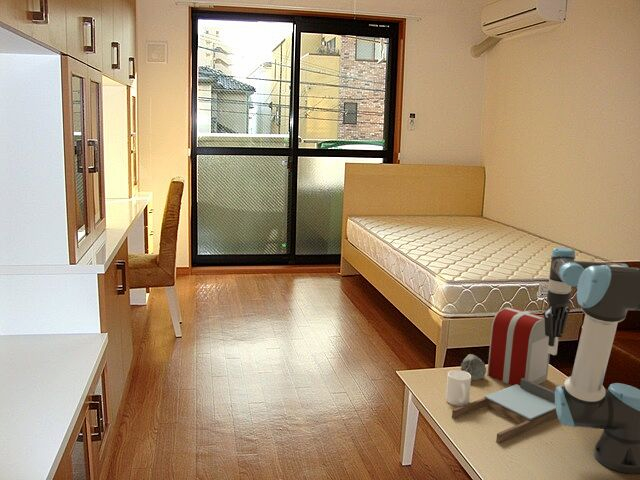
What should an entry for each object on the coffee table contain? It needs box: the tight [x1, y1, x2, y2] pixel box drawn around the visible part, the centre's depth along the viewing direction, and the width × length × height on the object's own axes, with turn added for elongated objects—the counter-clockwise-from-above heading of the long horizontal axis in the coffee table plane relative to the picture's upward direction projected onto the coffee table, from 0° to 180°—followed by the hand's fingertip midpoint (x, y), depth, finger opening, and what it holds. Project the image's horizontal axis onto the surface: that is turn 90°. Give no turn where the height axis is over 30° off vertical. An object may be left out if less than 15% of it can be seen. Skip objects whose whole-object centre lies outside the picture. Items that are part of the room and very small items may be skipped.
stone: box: [460, 353, 487, 381], centre depth 249 cm, size 10×10×10 cm
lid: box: [483, 378, 556, 420], centre depth 222 cm, size 19×18×4 cm
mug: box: [445, 369, 472, 407], centre depth 226 cm, size 12×8×10 cm
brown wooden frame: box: [451, 397, 558, 444], centre depth 218 cm, size 20×34×3 cm, turn 126°
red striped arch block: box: [486, 306, 551, 386], centre depth 247 cm, size 16×18×27 cm
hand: (552, 353), depth 227 cm, fingers closed
